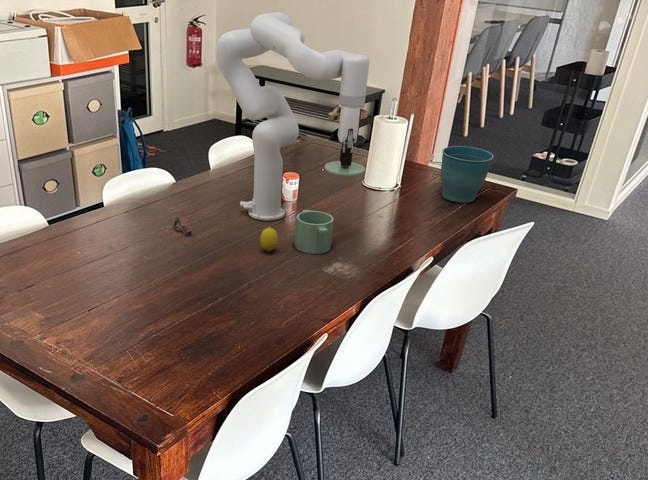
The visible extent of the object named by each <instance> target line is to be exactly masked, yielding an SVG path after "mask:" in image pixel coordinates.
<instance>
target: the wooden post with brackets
mask: <svg viewBox="0 0 648 480" xmlns="http://www.w3.org/2000/svg"><path fill="white" fill-rule="evenodd" d="M173 220H174V222H173V224H172V228H173V229H175V230H176V231H177V232H181V229H182V230H183V232H184V233H185V236H186V237H188V236H191V235H192V230H191V229H188V228H187V227H186V226H185V224H184V223H183V222H182V221H181V220H180V218H179V216H176V215H174V216H173ZM177 224H178V225H177Z"/></svg>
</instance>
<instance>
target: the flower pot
mask: <svg viewBox="0 0 648 480" xmlns="http://www.w3.org/2000/svg"><path fill="white" fill-rule="evenodd" d="M494 158H495V157H494V155H493V153H492V152H490V151H488V150H485V149H483V148H478V147H473V146H466V145H451V146H447V147H444V148H443V149H442V155H441V165H440V166H441V167H440V181H441V188H442V193H441V196H442V198H443V199H445V200H446V201H449V202H453V203H460V204H469V203H472V202H474V201H475V200H476V197H477V195H478V193H479V191H480V190H481V188H482V186H483V185H484V183H485V181H486V179H487V177H488V173H489V170H490V167H491V166H492V162H493V159H494Z"/></svg>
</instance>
